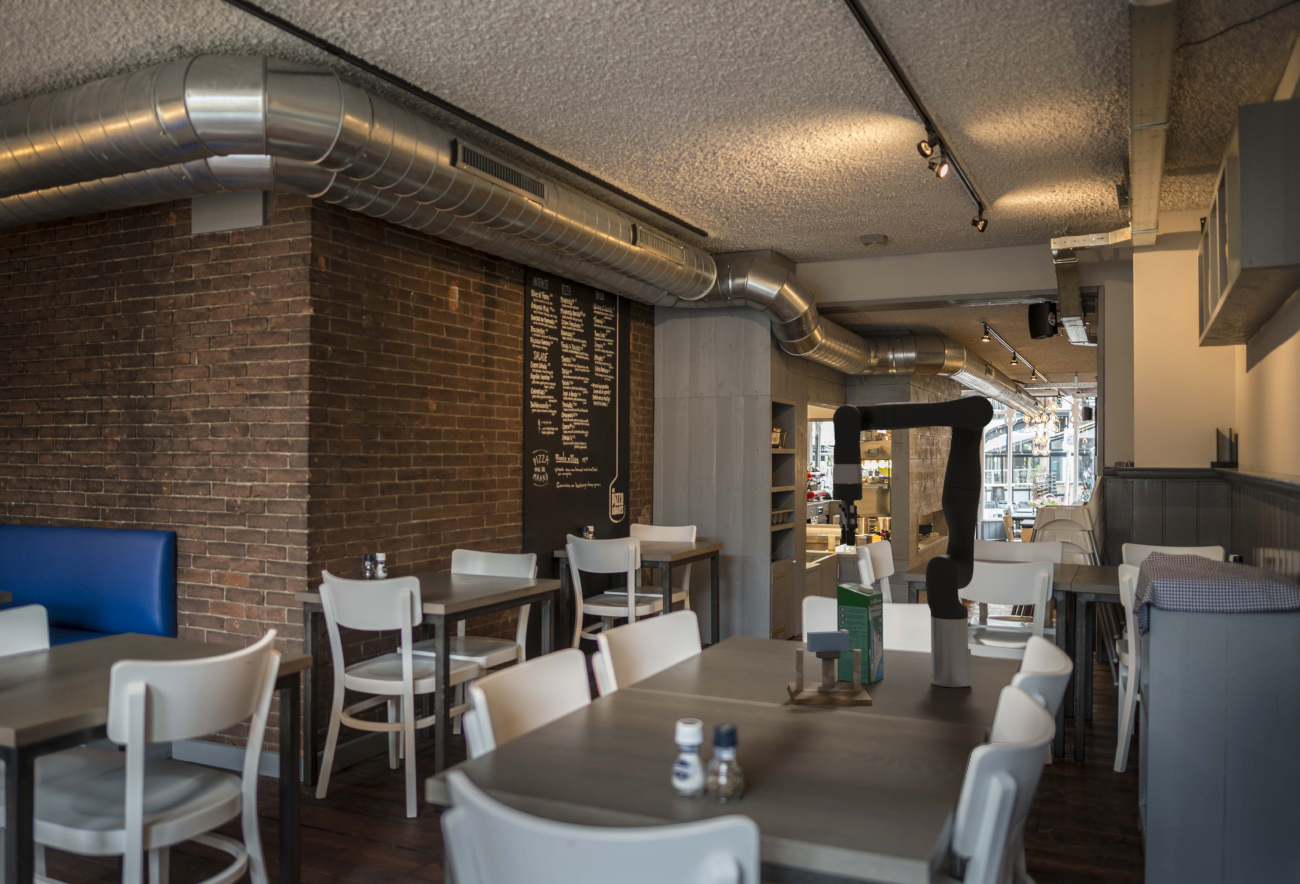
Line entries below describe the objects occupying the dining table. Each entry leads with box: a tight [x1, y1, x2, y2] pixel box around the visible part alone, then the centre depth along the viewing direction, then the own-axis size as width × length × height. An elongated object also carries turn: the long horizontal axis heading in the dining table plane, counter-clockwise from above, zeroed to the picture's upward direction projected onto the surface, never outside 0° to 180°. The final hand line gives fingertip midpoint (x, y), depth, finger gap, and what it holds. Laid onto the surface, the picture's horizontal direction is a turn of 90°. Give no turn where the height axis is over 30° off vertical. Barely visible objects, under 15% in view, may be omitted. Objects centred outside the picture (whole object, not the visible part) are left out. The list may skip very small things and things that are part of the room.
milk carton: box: [836, 582, 885, 685], centre depth 248 cm, size 9×9×25 cm
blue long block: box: [806, 629, 849, 660], centre depth 229 cm, size 6×10×6 cm, turn 101°
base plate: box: [787, 648, 873, 706], centre depth 229 cm, size 18×18×11 cm
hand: (848, 544), depth 242 cm, fingers open, 8 cm apart
